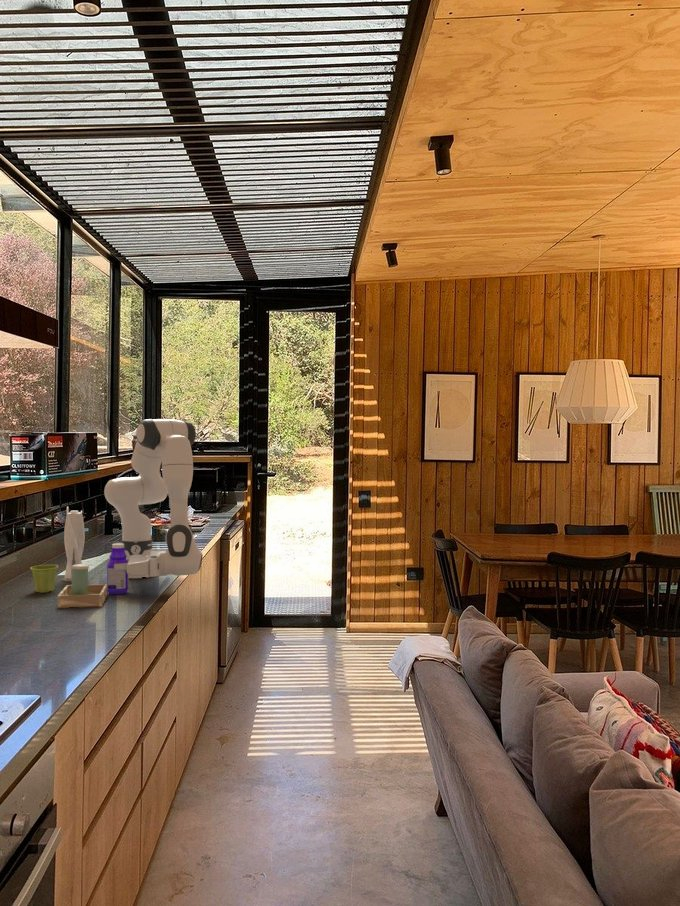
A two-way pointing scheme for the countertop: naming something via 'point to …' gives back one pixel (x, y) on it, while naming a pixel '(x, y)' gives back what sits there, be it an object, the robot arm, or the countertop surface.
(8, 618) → the countertop surface
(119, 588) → the bottle
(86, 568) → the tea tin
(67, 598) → the crate
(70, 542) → the skyscraper
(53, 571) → the plant pot
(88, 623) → the countertop surface
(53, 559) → the countertop surface
